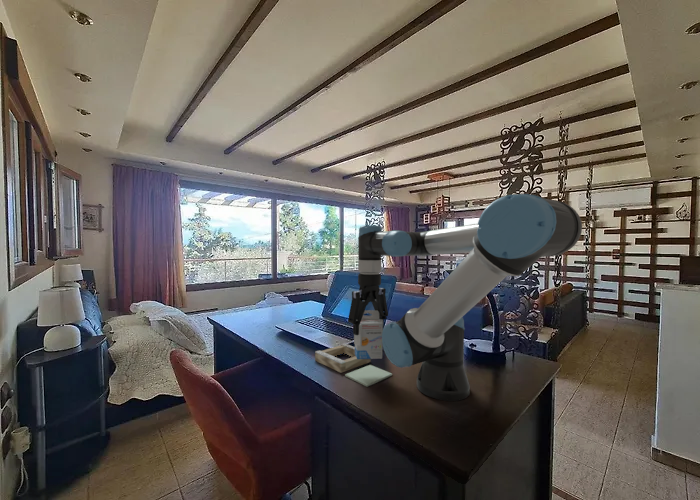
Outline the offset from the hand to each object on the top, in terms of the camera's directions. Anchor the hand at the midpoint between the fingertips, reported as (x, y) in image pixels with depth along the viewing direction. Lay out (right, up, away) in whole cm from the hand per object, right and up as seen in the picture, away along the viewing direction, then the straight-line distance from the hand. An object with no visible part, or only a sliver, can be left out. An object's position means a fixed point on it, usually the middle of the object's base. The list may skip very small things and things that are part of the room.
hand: (368, 341), depth 99 cm
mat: (0, -11, 0) cm, 11 cm away
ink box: (0, -5, 0) cm, 5 cm away
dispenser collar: (-9, -11, +12) cm, 19 cm away
